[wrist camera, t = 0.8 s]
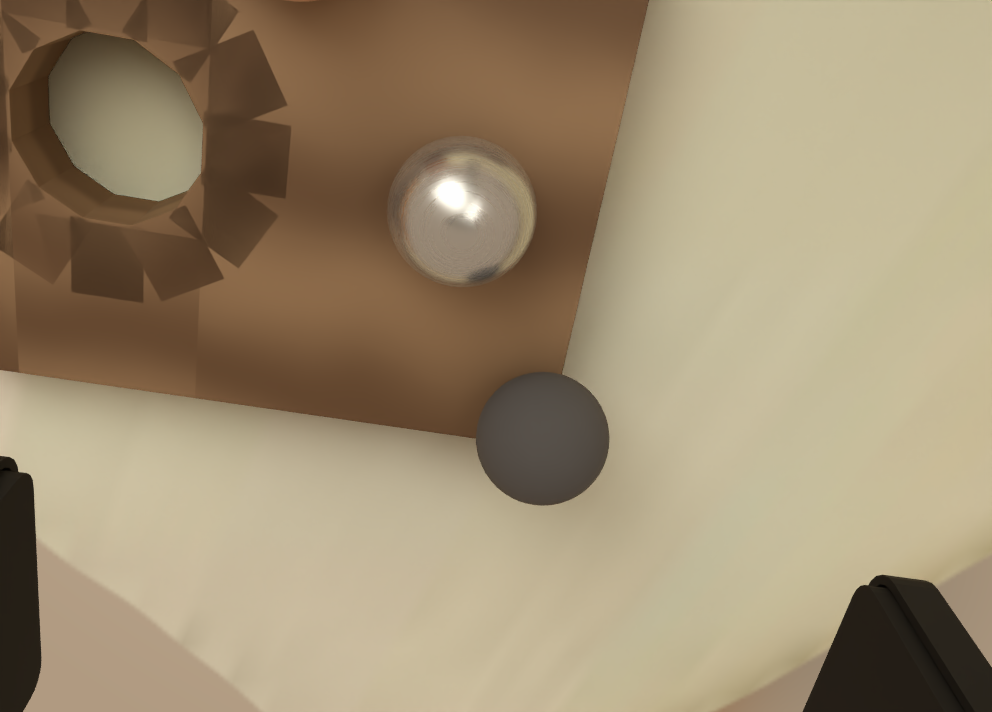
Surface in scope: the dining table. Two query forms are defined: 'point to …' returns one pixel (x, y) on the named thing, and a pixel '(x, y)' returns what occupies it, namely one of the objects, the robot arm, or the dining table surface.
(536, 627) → the dining table surface
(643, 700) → the dining table surface
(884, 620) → the robot arm
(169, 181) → the dining table surface
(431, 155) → the steel ball
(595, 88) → the board
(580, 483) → the black ball
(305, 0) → the terracotta ball
